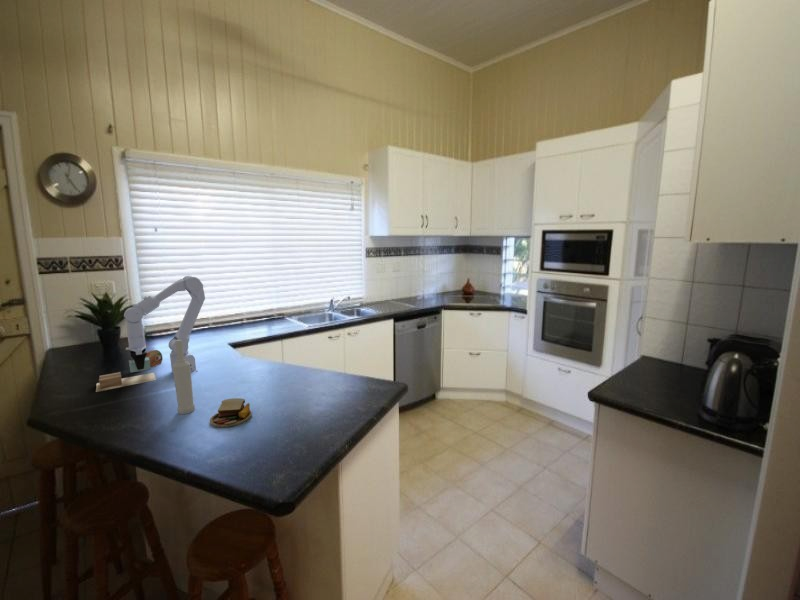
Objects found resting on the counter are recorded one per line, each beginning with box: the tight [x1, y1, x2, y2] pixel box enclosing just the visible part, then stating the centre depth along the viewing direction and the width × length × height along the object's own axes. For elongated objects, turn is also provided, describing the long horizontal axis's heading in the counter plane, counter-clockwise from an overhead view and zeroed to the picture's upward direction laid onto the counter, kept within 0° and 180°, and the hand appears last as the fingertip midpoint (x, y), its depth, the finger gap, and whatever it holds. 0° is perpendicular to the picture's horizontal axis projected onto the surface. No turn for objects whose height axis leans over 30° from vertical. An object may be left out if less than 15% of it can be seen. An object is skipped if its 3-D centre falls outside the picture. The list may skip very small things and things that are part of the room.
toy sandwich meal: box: [209, 397, 253, 428], centre depth 123 cm, size 12×14×5 cm
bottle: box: [172, 340, 196, 415], centre depth 128 cm, size 5×5×25 cm
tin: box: [131, 349, 163, 373], centre depth 175 cm, size 15×3×8 cm, turn 168°
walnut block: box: [98, 371, 123, 389], centre depth 154 cm, size 7×7×4 cm
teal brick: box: [128, 357, 152, 373], centre depth 159 cm, size 5×7×4 cm
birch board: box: [95, 372, 157, 393], centre depth 157 cm, size 20×12×1 cm, turn 127°
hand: (140, 367), depth 159 cm, fingers closed on teal brick, 5 cm apart
